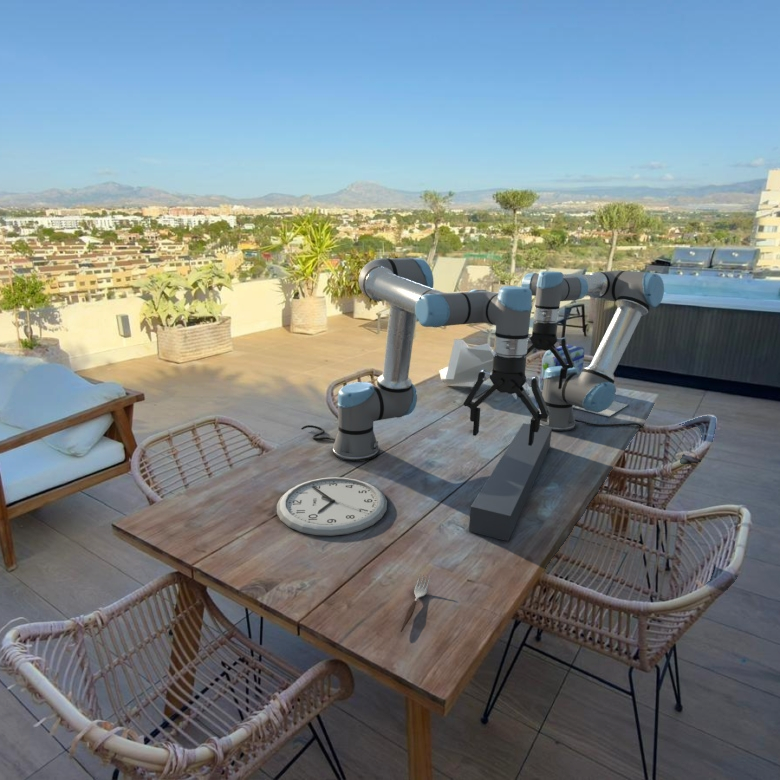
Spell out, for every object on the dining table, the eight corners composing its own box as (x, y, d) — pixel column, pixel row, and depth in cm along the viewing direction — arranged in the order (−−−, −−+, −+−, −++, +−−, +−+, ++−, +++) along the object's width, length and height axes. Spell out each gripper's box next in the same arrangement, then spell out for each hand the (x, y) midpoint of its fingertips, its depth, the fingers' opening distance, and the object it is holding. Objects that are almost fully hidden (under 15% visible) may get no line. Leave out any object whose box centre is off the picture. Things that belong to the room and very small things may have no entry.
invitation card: (608, 416, 214) (573, 407, 224) (608, 416, 214) (573, 408, 224) (628, 404, 229) (594, 396, 238) (628, 405, 229) (594, 397, 238)
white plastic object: (461, 429, 252) (437, 405, 227) (444, 352, 274) (420, 323, 250) (535, 404, 240) (518, 377, 215) (510, 326, 262) (492, 293, 237)
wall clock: (392, 527, 129) (268, 531, 127) (391, 533, 130) (269, 537, 127) (383, 473, 158) (282, 475, 155) (383, 478, 158) (282, 480, 156)
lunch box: (556, 397, 237) (562, 352, 231) (535, 392, 244) (540, 348, 238) (583, 386, 255) (589, 344, 248) (562, 381, 262) (567, 340, 256)
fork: (394, 632, 98) (394, 623, 98) (419, 581, 113) (419, 573, 112) (407, 636, 97) (407, 627, 97) (430, 584, 112) (431, 576, 111)
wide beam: (521, 441, 188) (523, 423, 186) (549, 446, 184) (552, 427, 182) (468, 531, 132) (470, 506, 130) (508, 541, 128) (510, 516, 126)
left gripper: (453, 351, 123) (449, 434, 130) (563, 364, 114) (552, 453, 120) (463, 345, 130) (458, 425, 136) (567, 357, 120) (557, 442, 126)
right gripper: (504, 319, 168) (498, 382, 175) (585, 326, 158) (577, 393, 165) (509, 316, 175) (503, 377, 181) (588, 322, 165) (579, 387, 171)
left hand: (502, 438), depth 128 cm, fingers open, 13 cm apart
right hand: (538, 385), depth 173 cm, fingers open, 13 cm apart
